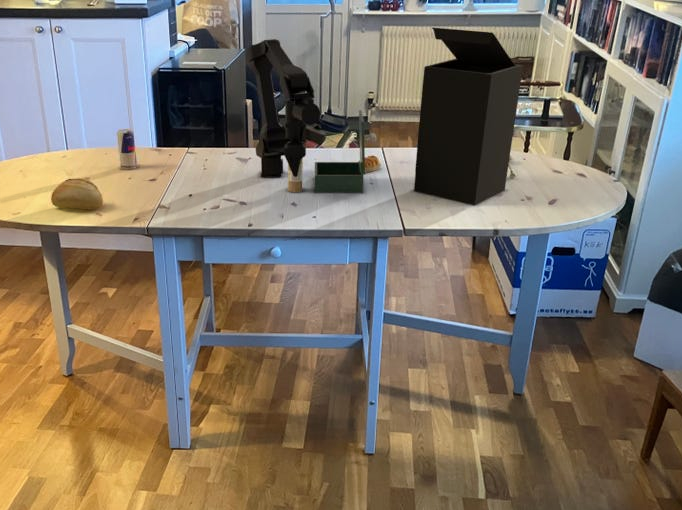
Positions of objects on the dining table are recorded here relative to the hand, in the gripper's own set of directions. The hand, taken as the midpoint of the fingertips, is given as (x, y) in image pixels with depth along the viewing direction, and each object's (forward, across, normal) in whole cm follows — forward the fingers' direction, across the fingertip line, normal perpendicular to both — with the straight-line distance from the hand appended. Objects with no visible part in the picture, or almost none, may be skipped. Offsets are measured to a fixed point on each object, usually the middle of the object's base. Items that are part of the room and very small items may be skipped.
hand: (295, 172), depth 221 cm
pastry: (+6, +22, -23) cm, 32 cm away
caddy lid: (-7, +5, -19) cm, 21 cm away
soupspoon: (+6, +23, -68) cm, 72 cm away
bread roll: (+5, -16, +62) cm, 64 cm away
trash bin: (+6, 0, -49) cm, 49 cm away
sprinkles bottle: (+6, 0, 0) cm, 6 cm away
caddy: (+6, +5, -13) cm, 15 cm away
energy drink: (+5, +24, +56) cm, 61 cm away
